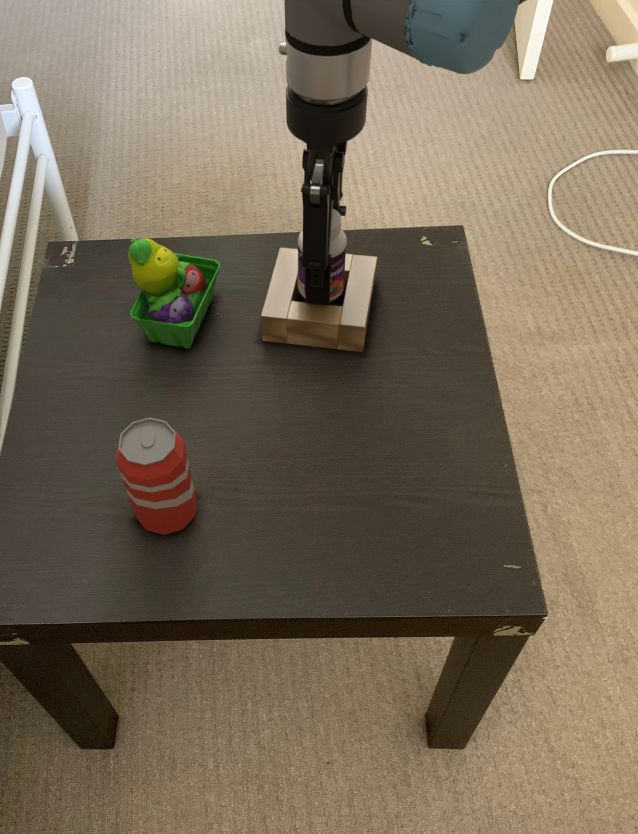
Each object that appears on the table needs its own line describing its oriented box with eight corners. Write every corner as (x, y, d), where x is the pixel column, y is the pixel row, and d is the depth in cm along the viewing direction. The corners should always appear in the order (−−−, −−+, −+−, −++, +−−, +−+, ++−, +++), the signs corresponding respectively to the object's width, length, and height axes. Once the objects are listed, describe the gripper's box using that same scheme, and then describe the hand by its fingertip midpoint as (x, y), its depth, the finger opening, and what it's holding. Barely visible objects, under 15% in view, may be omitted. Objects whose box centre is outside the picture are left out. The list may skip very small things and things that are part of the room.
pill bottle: (305, 308, 87) (305, 238, 79) (292, 278, 90) (291, 208, 81) (350, 298, 87) (355, 228, 79) (335, 268, 90) (338, 197, 82)
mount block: (374, 282, 94) (377, 256, 90) (362, 352, 88) (365, 327, 84) (280, 273, 95) (279, 247, 92) (262, 340, 89) (260, 315, 86)
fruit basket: (196, 359, 88) (183, 284, 79) (126, 345, 90) (105, 270, 80) (225, 293, 94) (217, 216, 84) (159, 282, 96) (144, 205, 86)
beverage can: (198, 484, 79) (183, 411, 68) (195, 537, 75) (179, 469, 65) (140, 486, 79) (117, 413, 69) (134, 538, 75) (109, 470, 65)
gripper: (302, 30, 74) (303, 230, 93) (267, 139, 64) (275, 336, 83) (379, 34, 73) (363, 235, 92) (354, 146, 63) (342, 343, 82)
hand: (321, 283), depth 88 cm, fingers closed on pill bottle, 5 cm apart
